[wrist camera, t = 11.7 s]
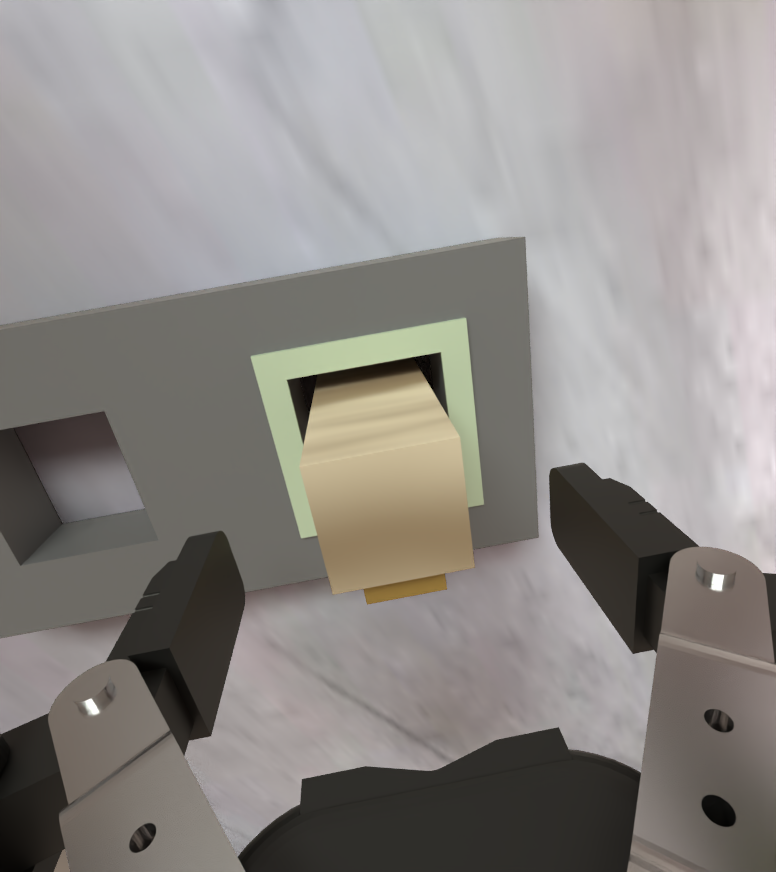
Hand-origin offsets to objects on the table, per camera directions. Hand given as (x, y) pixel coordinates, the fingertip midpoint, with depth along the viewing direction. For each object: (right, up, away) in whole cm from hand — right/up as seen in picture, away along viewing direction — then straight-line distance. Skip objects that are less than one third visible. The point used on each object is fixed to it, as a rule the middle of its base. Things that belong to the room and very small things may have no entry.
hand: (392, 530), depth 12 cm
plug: (-1, +3, +9) cm, 10 cm away
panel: (-7, +2, +9) cm, 11 cm away
